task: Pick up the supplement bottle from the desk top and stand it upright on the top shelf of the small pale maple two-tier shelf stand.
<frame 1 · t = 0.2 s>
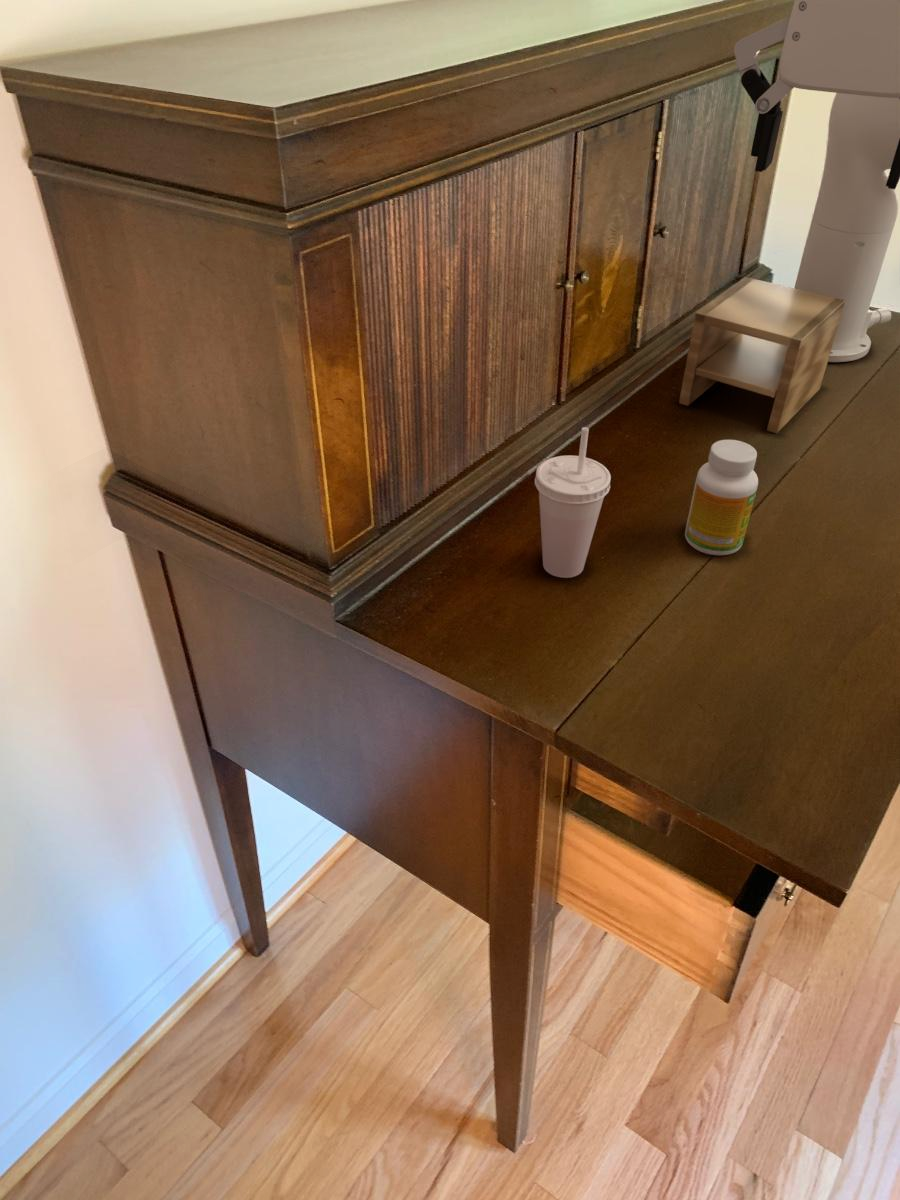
hand: (826, 175, 71), 31 cm above the table, tool pointing down, fingers open, 9 cm apart
smoothie: (563, 567, 84), on the table
shelf stand: (750, 396, 110), on the table
supplement bottle: (712, 542, 87), on the table
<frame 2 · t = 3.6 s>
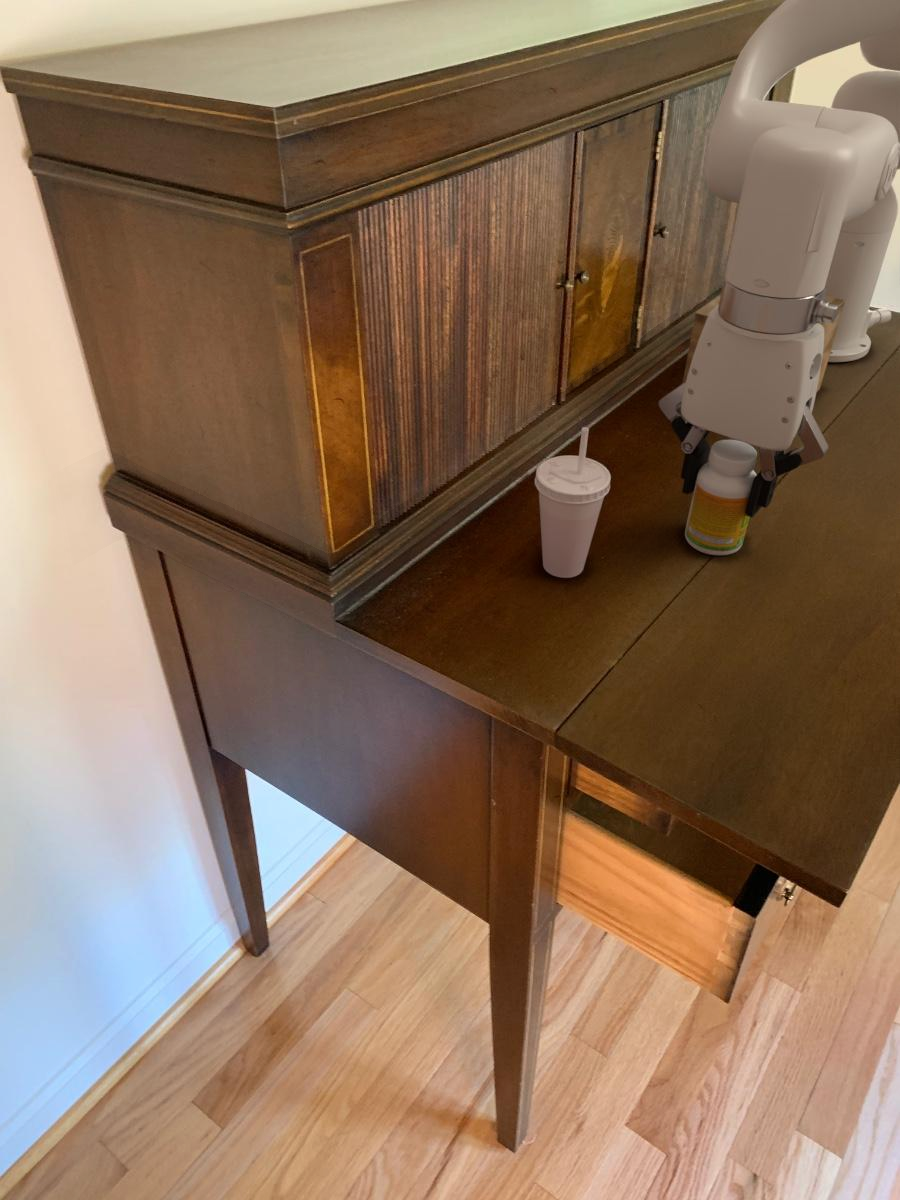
hand: (723, 496, 84), 5 cm above the table, tool pointing down, fingers closed on supplement bottle, 5 cm apart
supplement bottle: (712, 542, 87), on the table, touching gripper
everything else where it was.
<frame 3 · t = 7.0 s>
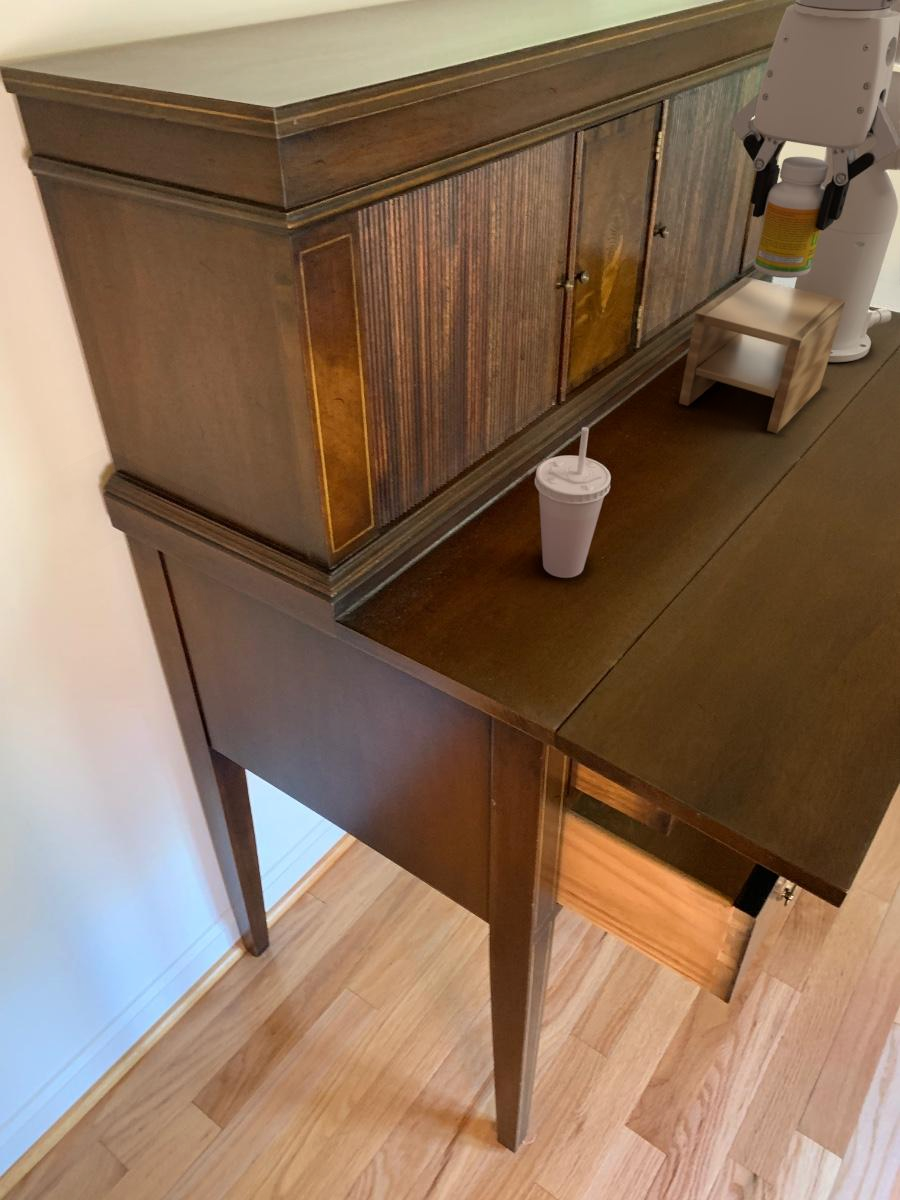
hand: (793, 217, 86), 24 cm above the table, tool pointing down, fingers closed on supplement bottle, 5 cm apart
supplement bottle: (780, 270, 90), point 19 cm above the table, touching gripper
everything else where it was.
when the fingers open (16 cm above the table, at t = 10.4 s): supplement bottle stays where it is, resting on shelf stand.
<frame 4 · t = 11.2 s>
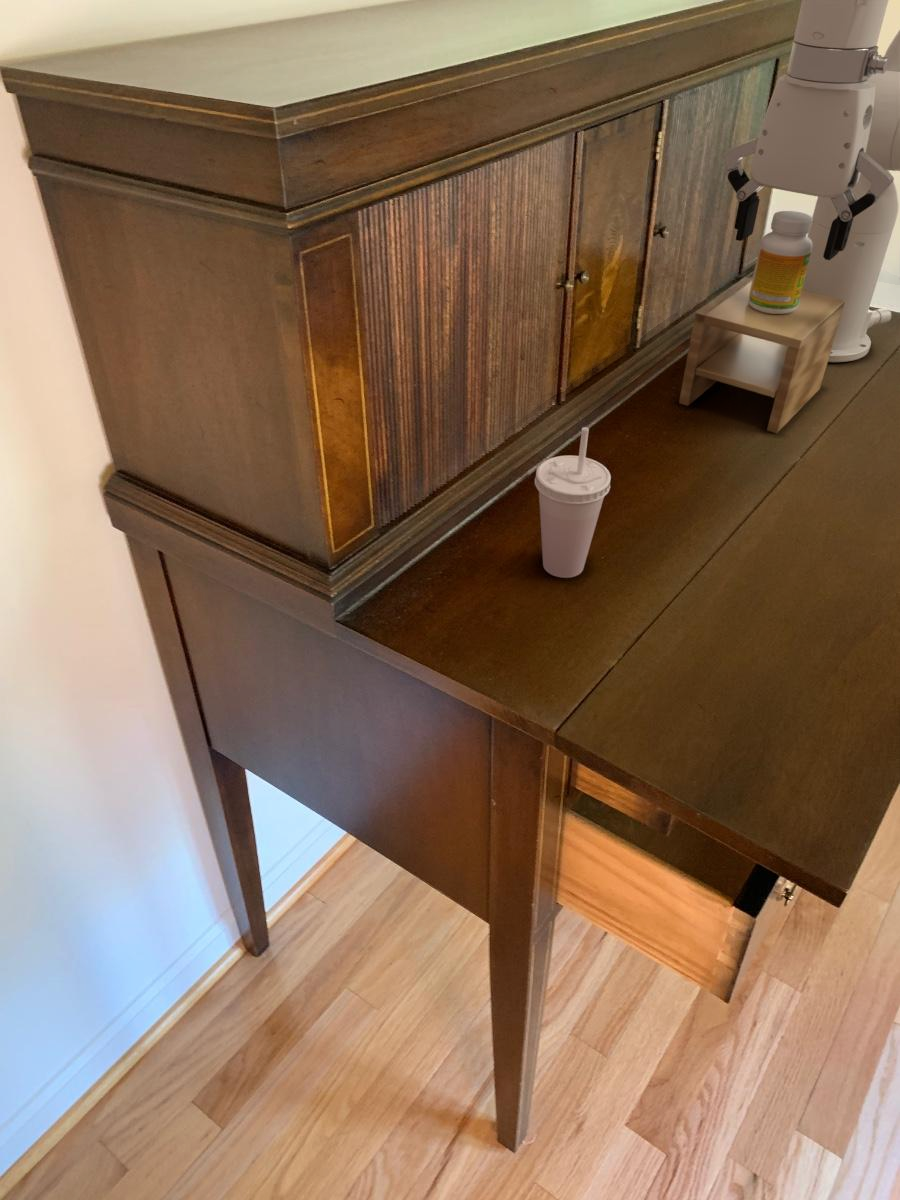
hand: (786, 246, 99), 18 cm above the table, tool pointing down, fingers open, 9 cm apart
supplement bottle: (771, 307, 103), point 11 cm above the table, touching shelf stand
everything else where it was.
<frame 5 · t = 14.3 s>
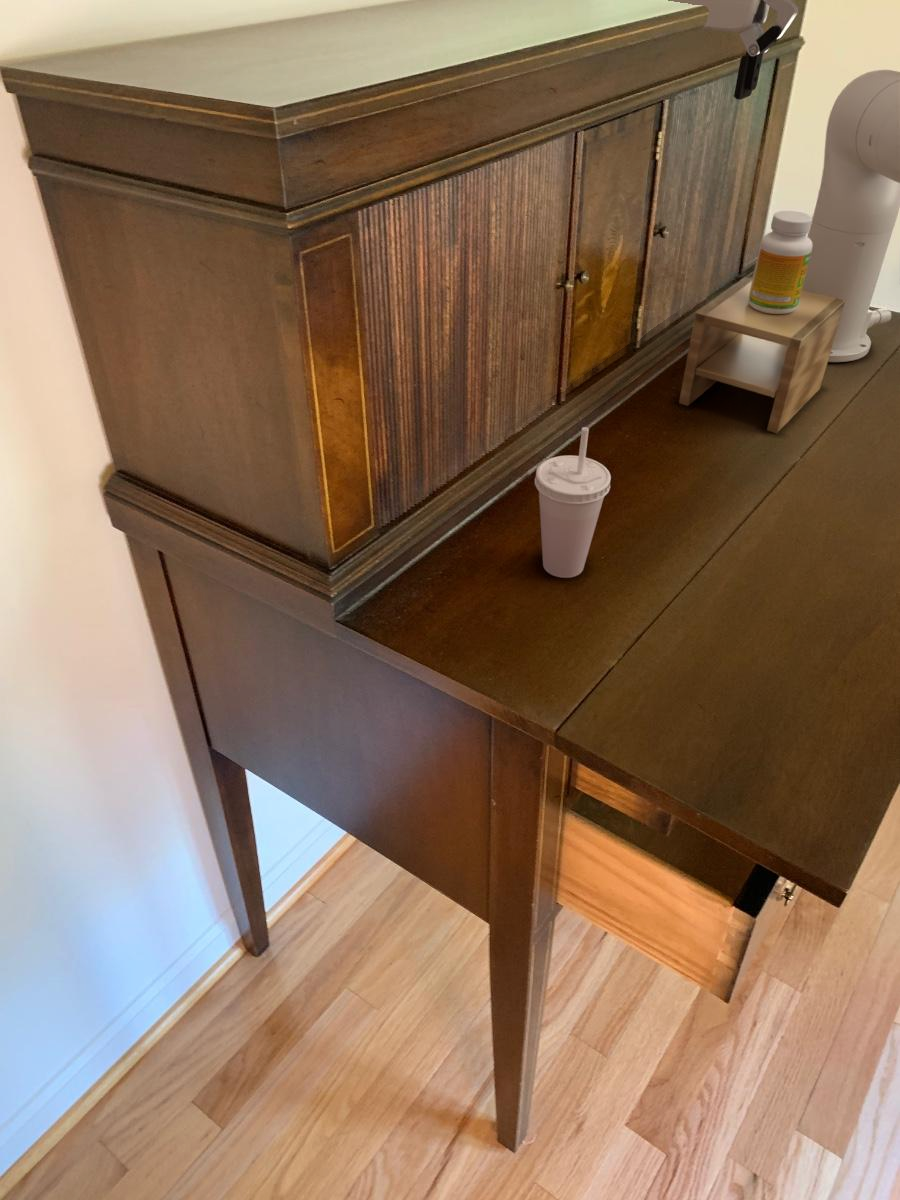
hand: (700, 91, 99), 30 cm above the table, tool pointing down, fingers open, 9 cm apart
nothing on the table moved.
at the end: supplement bottle inside the target area on the shelf stand (0.0 cm from its centre), point 10.8 cm above the shelf stand's base; supplement bottle tilted 0°; the gripper is holding nothing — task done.
